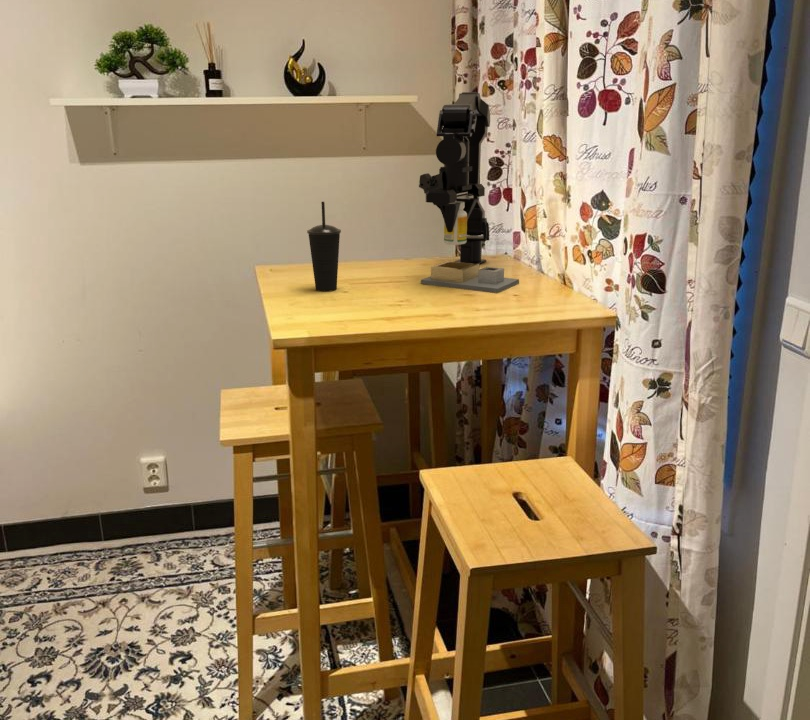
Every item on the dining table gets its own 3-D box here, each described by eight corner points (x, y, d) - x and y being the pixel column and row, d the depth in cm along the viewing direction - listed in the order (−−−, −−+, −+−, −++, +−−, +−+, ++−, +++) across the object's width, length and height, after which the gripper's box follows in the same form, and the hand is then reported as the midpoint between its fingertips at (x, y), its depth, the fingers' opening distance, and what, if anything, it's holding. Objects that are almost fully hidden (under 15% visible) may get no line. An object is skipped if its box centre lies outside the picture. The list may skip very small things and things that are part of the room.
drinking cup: (322, 294, 177) (318, 204, 171) (303, 289, 183) (299, 201, 177) (349, 289, 182) (346, 201, 176) (329, 284, 187) (326, 199, 181)
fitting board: (445, 274, 197) (445, 271, 197) (519, 283, 187) (519, 279, 187) (420, 283, 187) (420, 279, 187) (497, 293, 177) (497, 288, 177)
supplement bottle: (443, 245, 184) (443, 203, 181) (444, 241, 189) (444, 200, 186) (466, 245, 184) (467, 203, 181) (466, 241, 189) (467, 200, 186)
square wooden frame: (447, 272, 194) (448, 260, 193) (478, 276, 190) (479, 264, 189) (430, 279, 187) (430, 266, 186) (462, 282, 183) (462, 270, 182)
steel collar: (486, 279, 187) (486, 266, 186) (503, 281, 185) (504, 268, 184) (478, 282, 183) (478, 269, 182) (495, 284, 181) (496, 271, 180)
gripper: (445, 158, 192) (444, 223, 197) (405, 163, 177) (405, 233, 182) (486, 160, 187) (484, 226, 191) (448, 165, 171) (448, 236, 176)
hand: (455, 230), depth 185 cm, fingers closed on supplement bottle, 5 cm apart
